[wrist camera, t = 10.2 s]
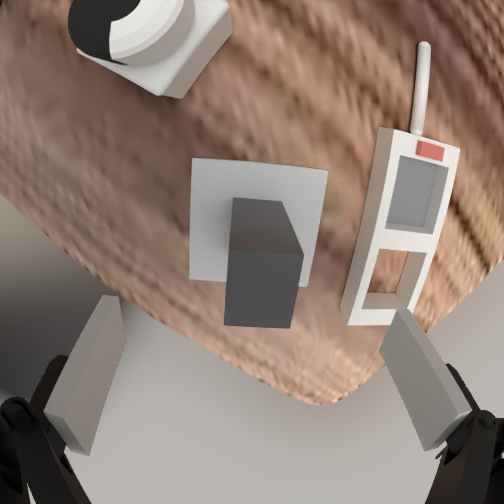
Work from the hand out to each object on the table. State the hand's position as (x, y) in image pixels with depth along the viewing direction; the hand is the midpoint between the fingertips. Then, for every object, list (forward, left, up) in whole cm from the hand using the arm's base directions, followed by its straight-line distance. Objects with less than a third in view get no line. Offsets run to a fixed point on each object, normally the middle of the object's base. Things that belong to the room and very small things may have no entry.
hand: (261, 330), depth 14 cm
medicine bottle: (-15, -8, -14) cm, 22 cm away
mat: (0, 0, -14) cm, 14 cm away
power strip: (-5, +13, -14) cm, 20 cm away
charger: (0, 0, -14) cm, 14 cm away
